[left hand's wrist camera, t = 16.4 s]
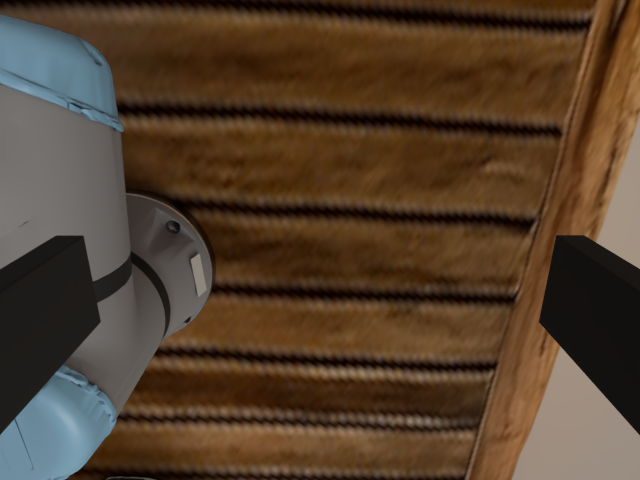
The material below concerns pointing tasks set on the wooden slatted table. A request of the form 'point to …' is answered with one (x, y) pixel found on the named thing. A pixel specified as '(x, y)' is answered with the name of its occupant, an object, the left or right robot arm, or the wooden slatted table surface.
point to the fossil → (128, 478)
